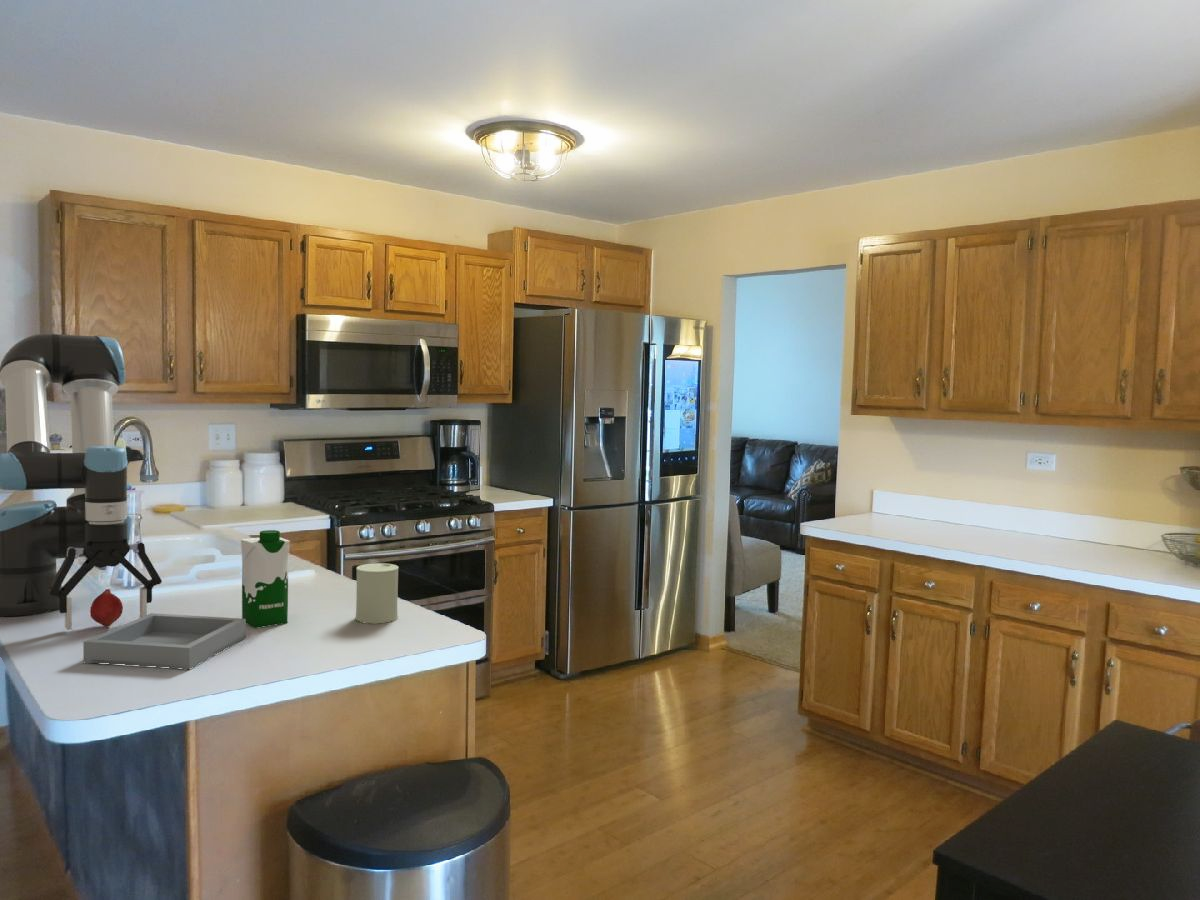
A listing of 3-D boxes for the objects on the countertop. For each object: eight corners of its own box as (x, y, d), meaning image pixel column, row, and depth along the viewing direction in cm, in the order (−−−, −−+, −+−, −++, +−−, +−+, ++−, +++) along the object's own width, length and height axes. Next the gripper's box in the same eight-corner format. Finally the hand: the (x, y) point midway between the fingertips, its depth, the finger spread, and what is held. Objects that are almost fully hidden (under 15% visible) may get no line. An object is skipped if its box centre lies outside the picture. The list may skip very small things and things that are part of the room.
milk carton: (252, 630, 177) (253, 535, 176) (235, 620, 184) (236, 529, 182) (293, 623, 183) (294, 531, 182) (275, 614, 190) (276, 525, 188)
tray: (83, 663, 153) (83, 641, 153) (151, 632, 173) (151, 613, 173) (189, 670, 151) (189, 647, 151) (245, 638, 171) (245, 618, 171)
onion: (89, 631, 172) (89, 593, 172) (91, 624, 177) (91, 586, 177) (122, 629, 175) (122, 590, 174) (123, 622, 180) (123, 584, 179)
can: (406, 616, 192) (407, 564, 191) (379, 626, 183) (380, 571, 183) (374, 610, 196) (374, 559, 195) (346, 620, 187) (347, 566, 186)
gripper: (36, 528, 164) (37, 637, 165) (177, 519, 180) (176, 618, 181) (31, 523, 169) (32, 628, 171) (168, 515, 185) (167, 610, 187)
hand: (106, 623), depth 176 cm, fingers open, 13 cm apart
